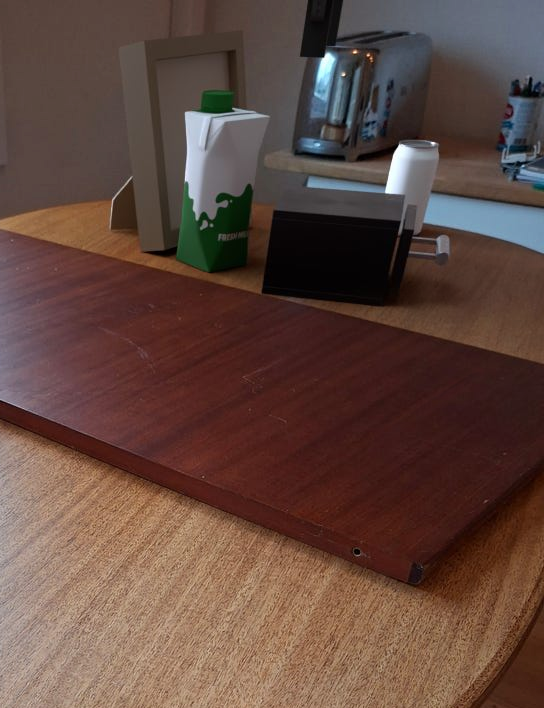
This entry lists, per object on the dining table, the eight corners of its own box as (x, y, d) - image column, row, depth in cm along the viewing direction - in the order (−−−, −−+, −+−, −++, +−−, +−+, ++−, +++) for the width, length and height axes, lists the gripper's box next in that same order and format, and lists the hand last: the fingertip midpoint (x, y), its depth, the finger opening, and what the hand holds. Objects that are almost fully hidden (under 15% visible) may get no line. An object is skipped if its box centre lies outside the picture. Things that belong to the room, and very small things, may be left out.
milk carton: (213, 249, 126) (231, 87, 114) (257, 265, 121) (281, 96, 108) (166, 259, 123) (179, 92, 110) (208, 276, 117) (227, 102, 104)
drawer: (439, 273, 115) (457, 208, 110) (438, 303, 106) (457, 233, 101) (298, 259, 120) (309, 196, 115) (285, 286, 111) (296, 219, 106)
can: (414, 239, 131) (436, 149, 124) (371, 233, 134) (390, 144, 126) (425, 229, 136) (447, 142, 128) (383, 224, 138) (402, 137, 131)
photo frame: (251, 228, 136) (277, 33, 120) (163, 257, 123) (179, 43, 108) (175, 211, 144) (190, 26, 128) (86, 237, 131) (90, 35, 115)
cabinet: (387, 274, 118) (405, 194, 112) (381, 306, 108) (401, 220, 102) (276, 263, 122) (288, 185, 115) (261, 293, 112) (273, 209, 105)
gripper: (331, -182, 101) (299, 40, 114) (306, -207, 83) (271, 60, 96) (399, -183, 99) (358, 42, 113) (388, -210, 81) (341, 64, 94)
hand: (318, 51), depth 104 cm, fingers open, 13 cm apart
